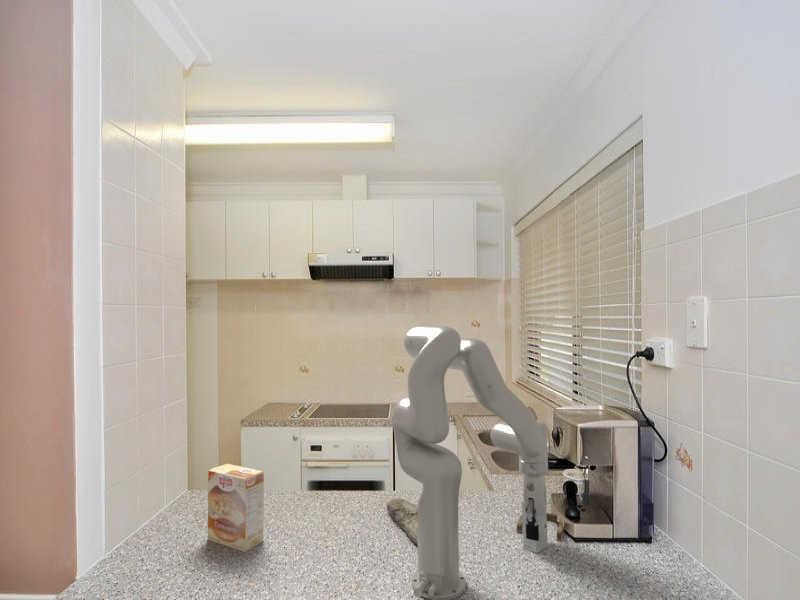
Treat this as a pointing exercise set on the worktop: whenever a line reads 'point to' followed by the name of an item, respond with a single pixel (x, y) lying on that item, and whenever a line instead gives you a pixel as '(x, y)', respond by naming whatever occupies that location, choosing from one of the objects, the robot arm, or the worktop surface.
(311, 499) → the worktop surface
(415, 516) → the long grey stone
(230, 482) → the coffeecake box
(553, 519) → the lane rack
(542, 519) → the skincare box
